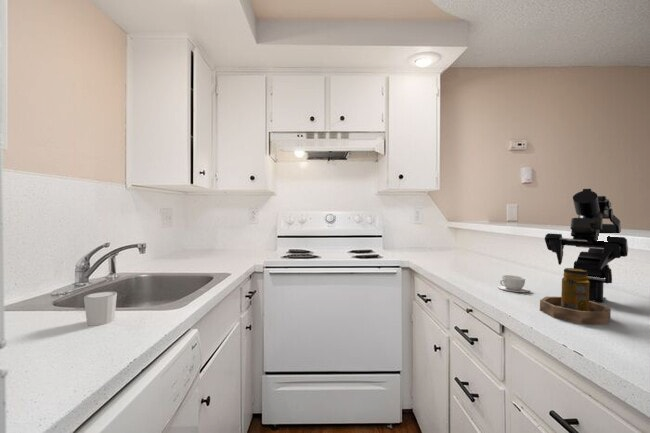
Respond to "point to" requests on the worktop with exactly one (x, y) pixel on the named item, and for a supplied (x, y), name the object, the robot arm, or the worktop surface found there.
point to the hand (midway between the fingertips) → (578, 266)
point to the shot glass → (100, 308)
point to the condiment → (575, 289)
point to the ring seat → (576, 312)
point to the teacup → (513, 283)
